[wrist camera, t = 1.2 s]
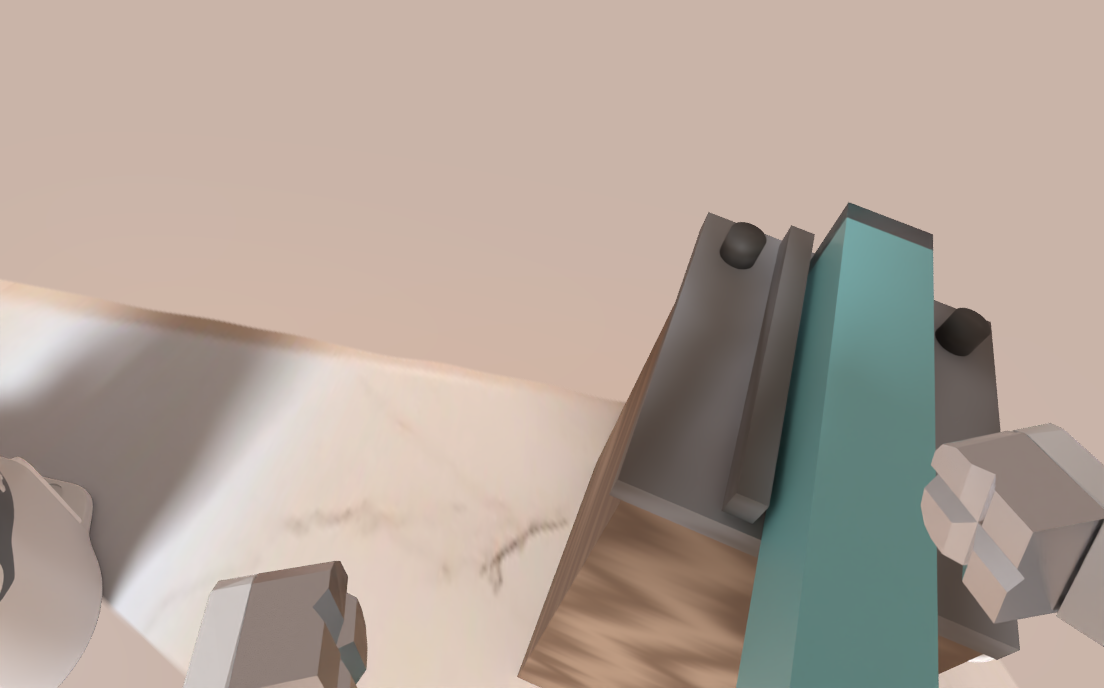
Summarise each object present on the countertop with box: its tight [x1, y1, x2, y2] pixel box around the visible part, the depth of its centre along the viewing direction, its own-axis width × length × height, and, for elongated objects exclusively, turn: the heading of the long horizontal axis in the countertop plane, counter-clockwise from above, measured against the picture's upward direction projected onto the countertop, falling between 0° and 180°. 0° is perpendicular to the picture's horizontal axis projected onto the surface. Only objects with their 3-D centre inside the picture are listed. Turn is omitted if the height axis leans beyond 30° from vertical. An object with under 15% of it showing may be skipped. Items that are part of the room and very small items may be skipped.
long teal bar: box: [736, 203, 939, 688], centre depth 26 cm, size 4×26×4 cm, turn 160°
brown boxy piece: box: [517, 213, 1020, 688], centre depth 40 cm, size 15×17×27 cm
